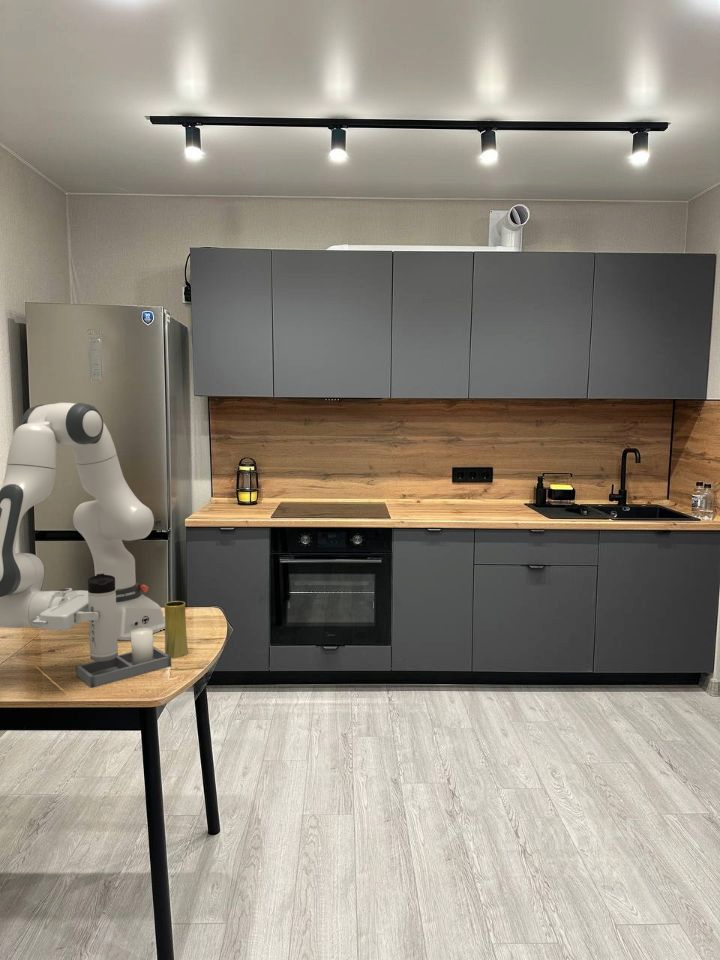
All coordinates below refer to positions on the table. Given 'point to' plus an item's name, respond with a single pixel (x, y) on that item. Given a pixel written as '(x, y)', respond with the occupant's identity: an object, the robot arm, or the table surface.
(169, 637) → the vase
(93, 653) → the travel mug
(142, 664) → the caddy
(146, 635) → the white cylinder
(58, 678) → the table surface
